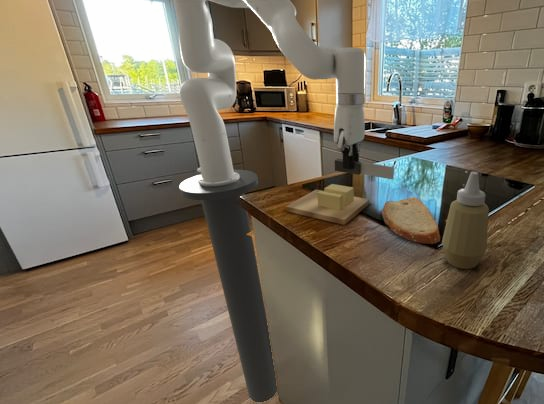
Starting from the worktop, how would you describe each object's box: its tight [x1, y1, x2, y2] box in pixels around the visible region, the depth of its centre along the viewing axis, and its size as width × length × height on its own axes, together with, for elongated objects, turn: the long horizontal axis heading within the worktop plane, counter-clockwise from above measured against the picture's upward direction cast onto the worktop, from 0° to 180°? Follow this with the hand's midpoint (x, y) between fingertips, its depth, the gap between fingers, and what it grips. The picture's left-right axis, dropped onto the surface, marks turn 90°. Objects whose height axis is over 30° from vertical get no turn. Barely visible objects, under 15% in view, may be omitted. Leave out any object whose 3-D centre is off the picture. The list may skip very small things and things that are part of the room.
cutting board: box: [285, 189, 370, 226], centre depth 81 cm, size 18×14×2 cm
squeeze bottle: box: [441, 171, 490, 270], centre depth 54 cm, size 8×8×18 cm
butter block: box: [323, 183, 355, 205], centre depth 82 cm, size 7×4×4 cm, turn 63°
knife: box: [334, 158, 395, 180], centre depth 84 cm, size 18×2×4 cm, turn 63°
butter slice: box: [317, 190, 343, 210], centre depth 78 cm, size 7×2×4 cm, turn 63°
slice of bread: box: [381, 197, 441, 245], centre depth 73 cm, size 18×18×4 cm
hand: (350, 166), depth 86 cm, fingers closed on knife, 2 cm apart
